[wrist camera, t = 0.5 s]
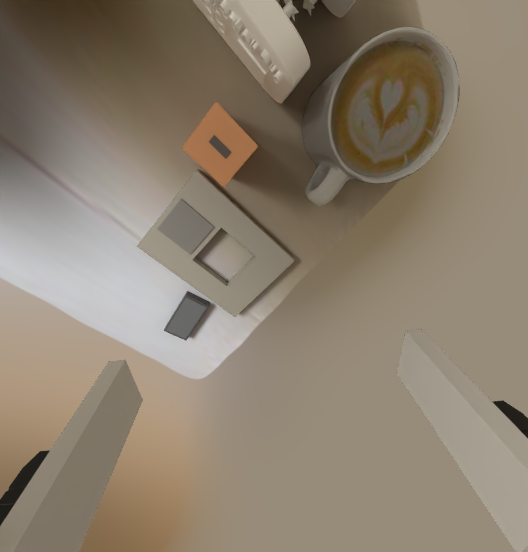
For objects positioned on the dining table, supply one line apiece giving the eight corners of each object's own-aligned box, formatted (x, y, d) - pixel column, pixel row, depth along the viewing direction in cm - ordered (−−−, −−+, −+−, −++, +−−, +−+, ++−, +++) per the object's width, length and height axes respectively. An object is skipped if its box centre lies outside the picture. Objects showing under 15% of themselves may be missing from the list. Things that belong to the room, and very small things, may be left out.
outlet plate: (140, 243, 33) (135, 246, 31) (198, 169, 29) (196, 170, 28) (235, 312, 38) (234, 317, 37) (293, 257, 35) (295, 261, 33)
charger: (199, 148, 28) (181, 147, 21) (225, 115, 27) (216, 101, 19) (229, 178, 30) (223, 187, 22) (255, 147, 28) (258, 146, 21)
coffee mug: (355, 42, 25) (415, -18, 16) (408, 124, 28) (483, 112, 19) (261, 152, 29) (267, 153, 20) (318, 213, 32) (345, 236, 23)
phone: (165, 326, 38) (163, 330, 37) (187, 291, 36) (185, 295, 35) (187, 336, 39) (186, 340, 38) (209, 302, 37) (208, 306, 36)
